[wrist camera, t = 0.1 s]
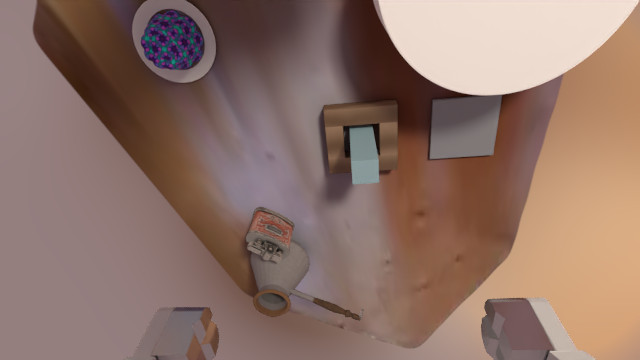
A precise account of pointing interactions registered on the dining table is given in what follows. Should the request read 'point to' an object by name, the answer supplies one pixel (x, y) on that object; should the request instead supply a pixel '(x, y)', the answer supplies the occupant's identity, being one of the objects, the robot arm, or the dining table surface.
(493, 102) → the coaster
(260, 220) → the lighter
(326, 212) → the dining table surface
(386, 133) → the holder
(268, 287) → the coffee pot
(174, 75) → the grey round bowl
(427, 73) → the plate stack
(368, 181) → the peg
